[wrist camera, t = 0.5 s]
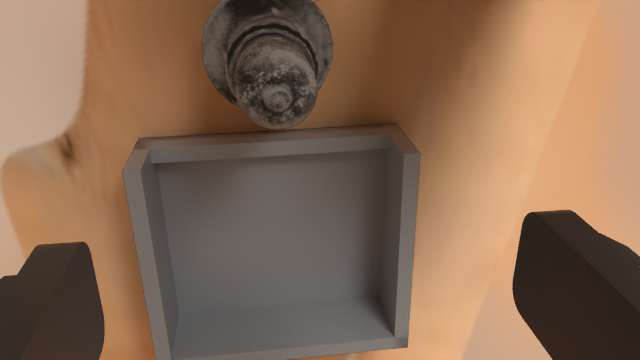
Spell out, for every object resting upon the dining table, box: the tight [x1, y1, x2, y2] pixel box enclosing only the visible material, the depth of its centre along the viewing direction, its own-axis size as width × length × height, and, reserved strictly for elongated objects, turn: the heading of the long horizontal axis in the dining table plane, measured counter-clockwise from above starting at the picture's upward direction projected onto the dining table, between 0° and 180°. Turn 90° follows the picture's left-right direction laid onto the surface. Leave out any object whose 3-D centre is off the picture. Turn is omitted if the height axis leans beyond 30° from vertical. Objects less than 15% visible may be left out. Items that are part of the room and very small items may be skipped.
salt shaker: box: [201, 0, 333, 129], centre depth 22 cm, size 6×6×12 cm
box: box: [122, 124, 420, 360], centre depth 30 cm, size 12×14×4 cm
